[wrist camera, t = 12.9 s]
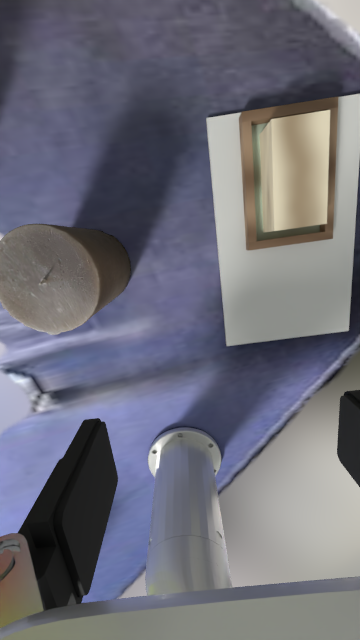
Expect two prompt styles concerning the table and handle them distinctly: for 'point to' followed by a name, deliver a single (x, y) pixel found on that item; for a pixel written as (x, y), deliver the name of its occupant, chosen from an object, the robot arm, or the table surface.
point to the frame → (251, 175)
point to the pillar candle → (60, 275)
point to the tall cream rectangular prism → (295, 171)
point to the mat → (284, 247)
